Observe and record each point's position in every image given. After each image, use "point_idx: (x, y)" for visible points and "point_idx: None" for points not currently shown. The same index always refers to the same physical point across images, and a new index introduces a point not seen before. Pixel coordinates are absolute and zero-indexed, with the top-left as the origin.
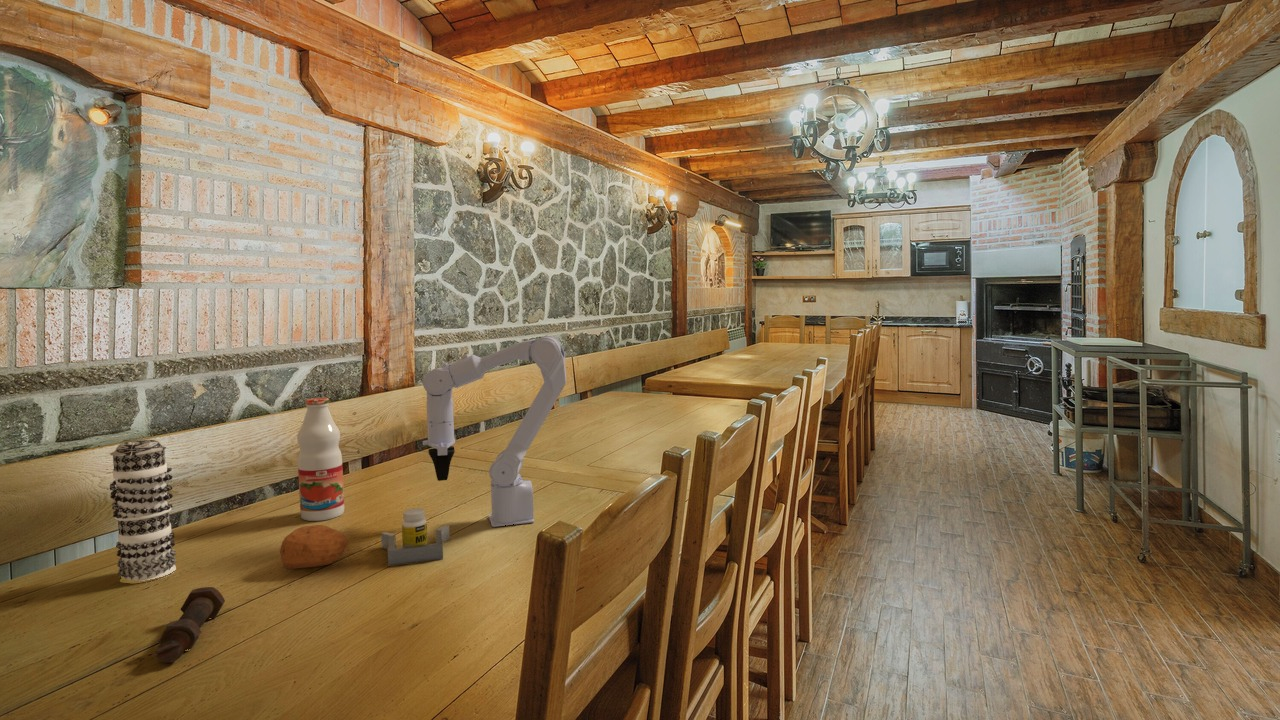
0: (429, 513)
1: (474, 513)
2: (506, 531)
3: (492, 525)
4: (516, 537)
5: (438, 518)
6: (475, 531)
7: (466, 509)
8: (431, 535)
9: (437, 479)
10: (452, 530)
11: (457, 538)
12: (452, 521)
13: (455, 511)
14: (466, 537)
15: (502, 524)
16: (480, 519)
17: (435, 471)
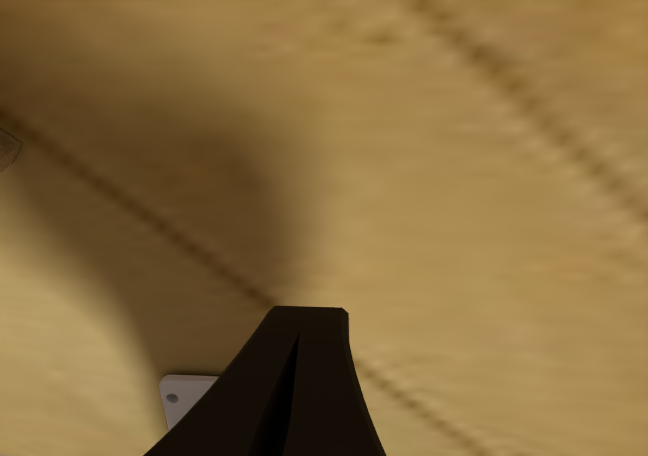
0: (610, 46)
1: (453, 323)
2: (103, 413)
3: (163, 380)
4: (20, 432)
5: (445, 112)
6: (126, 297)
7: (564, 291)
8: (91, 59)
9: (269, 312)
10: (165, 187)
11: (24, 205)
12: (341, 197)
13: (556, 227)
14: (36, 249)
15: (166, 419)
16: None
17: (219, 376)
